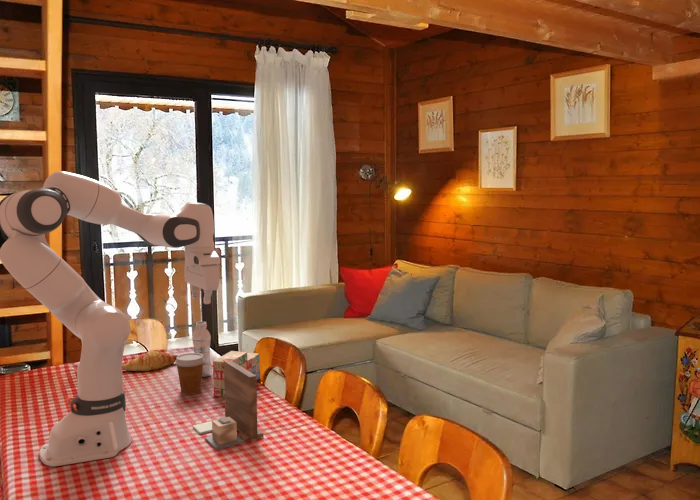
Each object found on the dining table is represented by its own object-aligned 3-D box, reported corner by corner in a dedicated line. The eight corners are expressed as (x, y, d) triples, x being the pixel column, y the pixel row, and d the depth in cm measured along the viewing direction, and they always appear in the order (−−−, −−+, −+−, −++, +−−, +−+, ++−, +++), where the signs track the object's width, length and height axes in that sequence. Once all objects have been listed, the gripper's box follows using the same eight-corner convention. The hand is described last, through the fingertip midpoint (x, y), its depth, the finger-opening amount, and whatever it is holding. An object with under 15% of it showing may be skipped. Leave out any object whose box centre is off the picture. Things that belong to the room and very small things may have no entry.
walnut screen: (244, 442, 168) (242, 378, 166) (219, 421, 183) (217, 362, 181) (264, 437, 171) (263, 374, 169) (237, 417, 186) (236, 358, 184)
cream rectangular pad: (200, 434, 173) (199, 432, 173) (192, 427, 178) (192, 425, 178) (226, 428, 178) (226, 426, 178) (219, 421, 183) (218, 419, 183)
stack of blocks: (245, 376, 224) (244, 343, 223) (260, 378, 222) (260, 345, 221) (213, 396, 204) (212, 360, 203) (230, 398, 202) (229, 362, 200)
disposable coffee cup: (170, 394, 206) (169, 359, 204) (187, 385, 215) (186, 351, 213) (194, 397, 203) (193, 362, 201) (210, 388, 211) (209, 354, 210)
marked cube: (219, 444, 165) (218, 425, 165) (212, 437, 170) (211, 419, 169) (236, 440, 168) (236, 421, 168) (229, 433, 172) (229, 415, 172)
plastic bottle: (210, 379, 221) (208, 324, 219) (191, 379, 221) (189, 324, 219) (214, 373, 227) (212, 320, 225) (195, 373, 228) (194, 320, 225)
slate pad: (216, 450, 163) (216, 447, 163) (205, 439, 170) (205, 437, 170) (244, 442, 168) (244, 440, 168) (232, 432, 174) (232, 430, 174)
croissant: (124, 383, 228) (126, 367, 224) (118, 364, 235) (119, 348, 231) (181, 371, 239) (183, 356, 235) (173, 354, 246) (175, 339, 242)
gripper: (178, 253, 194) (179, 296, 196) (201, 260, 177) (203, 307, 179) (197, 252, 197) (199, 294, 199) (222, 258, 181) (223, 305, 182)
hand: (201, 301), depth 189 cm, fingers open, 8 cm apart
